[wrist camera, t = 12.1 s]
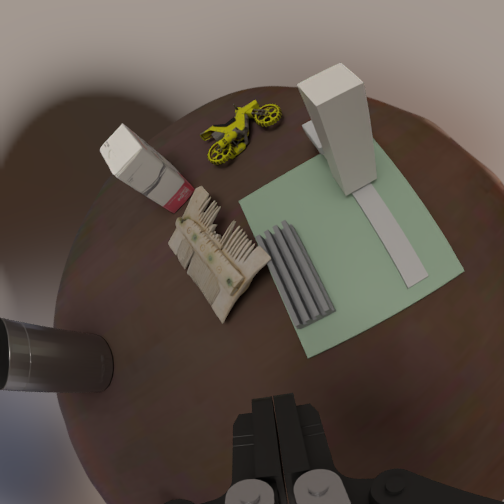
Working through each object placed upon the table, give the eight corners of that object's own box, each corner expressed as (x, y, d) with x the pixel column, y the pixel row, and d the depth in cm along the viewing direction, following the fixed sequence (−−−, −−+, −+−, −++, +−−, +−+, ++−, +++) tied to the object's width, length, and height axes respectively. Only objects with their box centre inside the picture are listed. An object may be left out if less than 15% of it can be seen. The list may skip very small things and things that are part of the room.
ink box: (197, 190, 42) (142, 146, 32) (173, 216, 43) (114, 178, 32) (170, 162, 46) (121, 120, 36) (150, 184, 47) (97, 148, 36)
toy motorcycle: (208, 161, 38) (188, 135, 41) (222, 175, 41) (202, 149, 45) (281, 103, 36) (254, 83, 40) (291, 122, 40) (264, 100, 43)
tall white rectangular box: (377, 178, 30) (363, 82, 18) (345, 196, 31) (316, 106, 19) (339, 130, 34) (308, 37, 22) (311, 145, 35) (269, 57, 22)
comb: (158, 242, 40) (191, 177, 37) (173, 243, 42) (205, 181, 38) (215, 327, 33) (264, 257, 29) (230, 324, 35) (279, 258, 31)
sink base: (462, 273, 26) (476, 259, 21) (310, 357, 30) (296, 360, 25) (359, 126, 35) (353, 97, 30) (238, 195, 39) (217, 175, 34)
